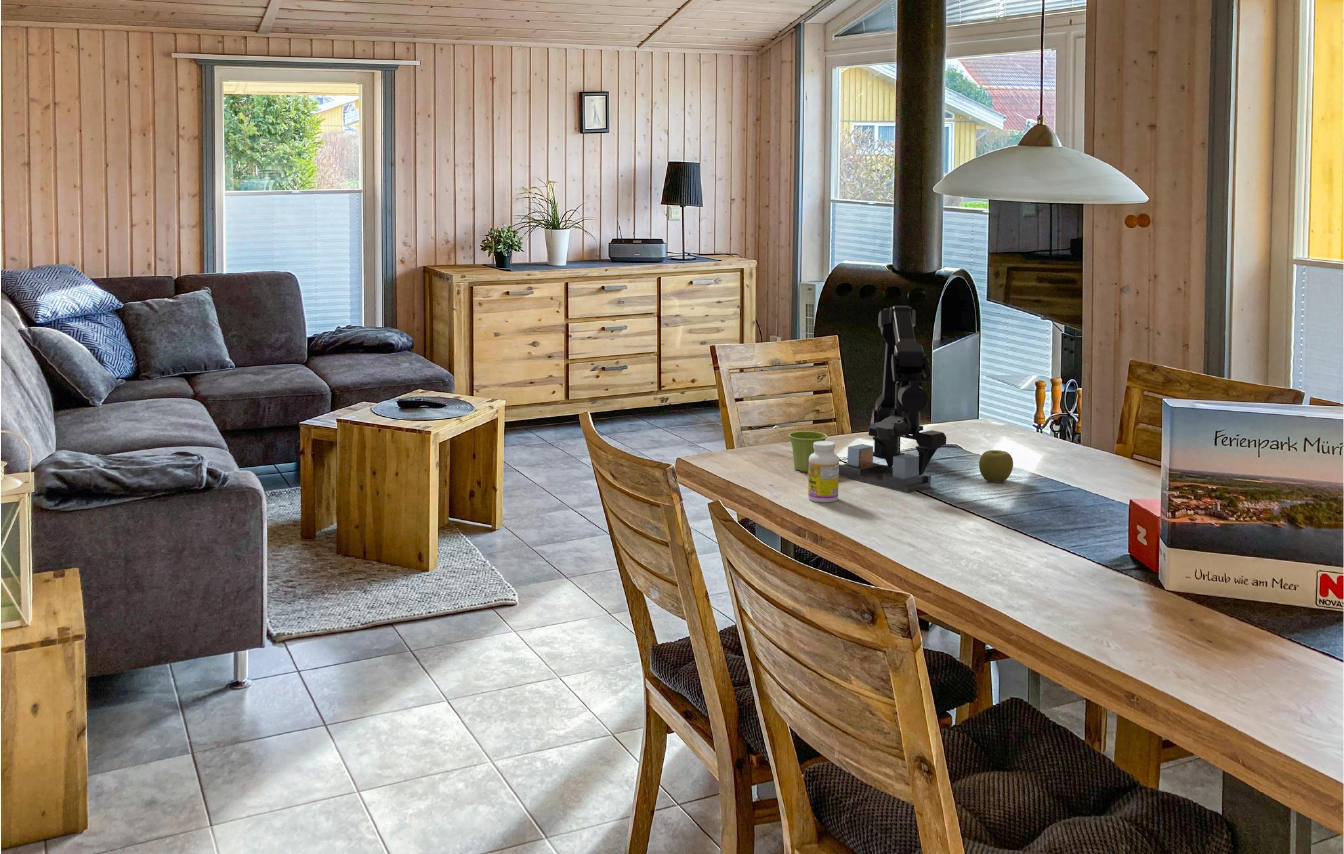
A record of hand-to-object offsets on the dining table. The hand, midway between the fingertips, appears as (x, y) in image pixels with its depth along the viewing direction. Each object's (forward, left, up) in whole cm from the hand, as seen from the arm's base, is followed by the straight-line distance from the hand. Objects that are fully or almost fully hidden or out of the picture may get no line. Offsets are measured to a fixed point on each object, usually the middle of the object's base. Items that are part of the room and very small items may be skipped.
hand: (905, 470), depth 276 cm
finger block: (0, 0, -3) cm, 3 cm away
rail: (0, -7, -4) cm, 8 cm away
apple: (-20, +10, -4) cm, 23 cm away
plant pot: (+5, -27, -4) cm, 28 cm away
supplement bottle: (+23, -4, -4) cm, 23 cm away
